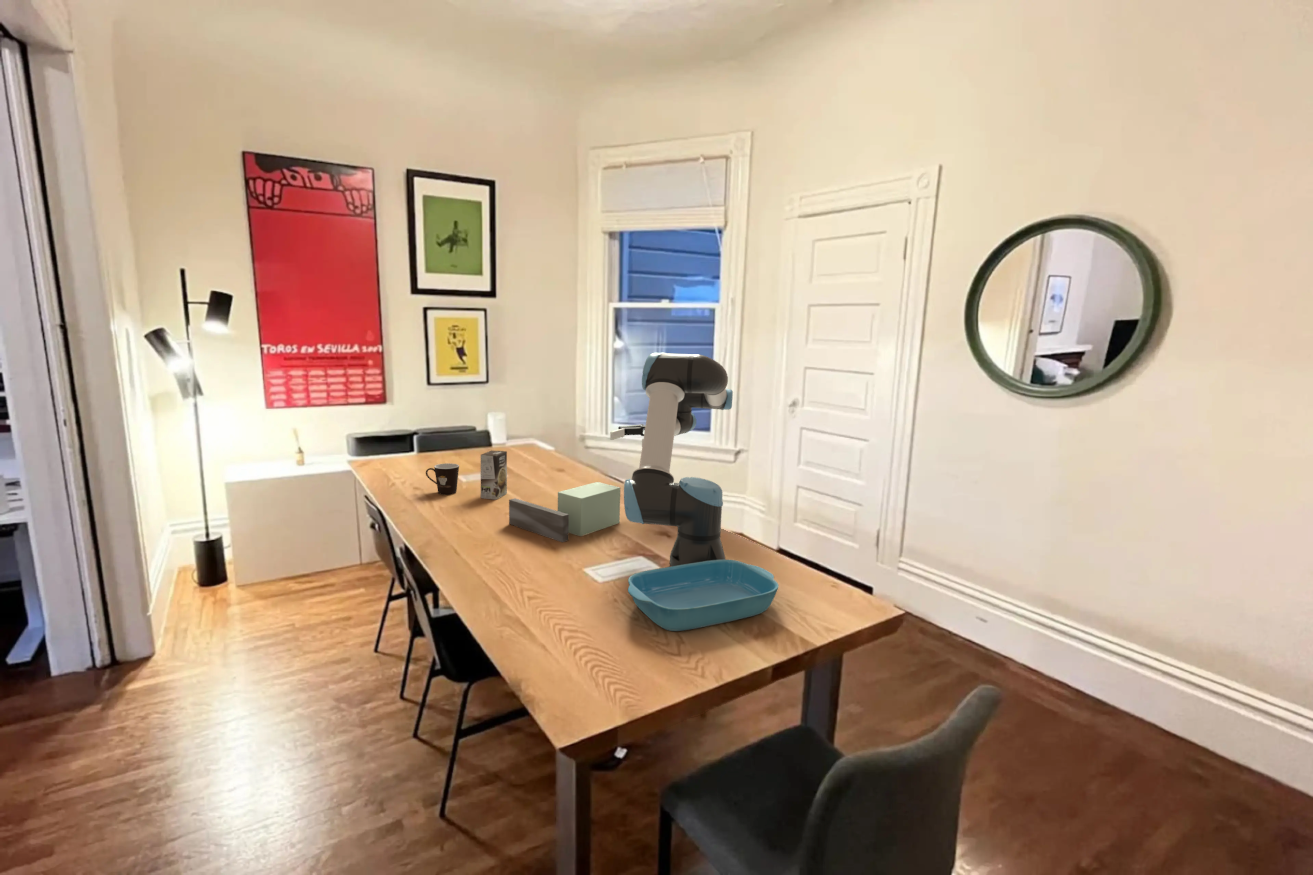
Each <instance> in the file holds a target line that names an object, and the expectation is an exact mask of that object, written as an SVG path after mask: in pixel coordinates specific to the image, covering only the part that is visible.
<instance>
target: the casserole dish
mask: <svg viewBox="0 0 1313 875" xmlns="http://www.w3.org/2000/svg"><path fill="white" fill-rule="evenodd" d="M774 578H775V576H774V574H773V573H772V572H770V571H768V570H767V569H765V568H762V567H760V566H757V565H753V564H750V563H749V564H748V563H746V562H743V561H740V560H737V559H736V560H735V559H725V560H711V561H703V562H697V563H690V564H684V565H678V566H667V567H666V566H665V567H660V568H655V569H649V570H648V569H647V570H643V571H640V572H636V573H634V574H631V575H630V576H629V577H628V579H627V583H628V589H627V593H628V594H629V595H630V596H631V598H632V600H633V602H634V604H635V605H636V607H637V608H638V609H639V610H640V611H641V612H642V613H643V614H645V616H647V618H649V619H650V620H651V621H652V622H653V623H655V624H656V625H657V626H659V627H661V628H662V629H663V630H666V631H669V632H670V631H671V632H679V631H681V632H682V631H683V632H684V631H689V630H690V631H691V630H694V629H700V628H704V627H711V626H714V625H719V624H724V623H729V622H733V621H738V620H741V619H747V618H750V617H754V616H757V615H760V614H762V613H764V612H766V611H767V610H768V609H769V607H770V606H771V604H772V603H773V601H774V598H775V597H776V594H777V592H778V590H779V587H780V586H779V583H778V582H777V580H776V579H774Z"/></svg>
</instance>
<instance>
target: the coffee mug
mask: <svg viewBox="0 0 1313 875" xmlns="http://www.w3.org/2000/svg"><path fill="white" fill-rule="evenodd" d="M429 470H432V471H433V472H434V473H435V480H434V479H432V477H430V476H429V474H428V473H429ZM459 470H460V465H459V464H457V463H447V462H446V463H439V464H438V463H437V464H435V465H434V468H433V467H429V468H427V469H426V470H425V476H426V477H427V478H428V479H429V480H430V481H431V482H433V484H435V485H436V486H437V493H438V494H439V495H442V496H443V495H444V496H451V495H455V494H457V490H458V479H459Z"/></svg>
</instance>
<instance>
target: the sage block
mask: <svg viewBox="0 0 1313 875" xmlns="http://www.w3.org/2000/svg"><path fill="white" fill-rule="evenodd" d="M621 489H622V488H621V487H619V486H616V485H613V484H612V485H611V484H607V483H604V482H600V481H596V482H591V483H587V484H584V485H580V486H576V487H573V488H568V489H566V490H565V489H564V490H561V491H558V492H557V511H559V512H562V513H566V514H569V533H568V534H572V535H575V536H577V537H583V536H586V535H589V534H592V533H594V532H597V531H601V530H603V529H607V528H609V527H612V526H614V525H618V524H620V523H621V522H620V519H621V518H620V516H621V513H620V512H621Z"/></svg>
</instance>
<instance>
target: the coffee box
mask: <svg viewBox="0 0 1313 875" xmlns="http://www.w3.org/2000/svg"><path fill="white" fill-rule="evenodd" d="M507 494H508V451H507V450H505V451H504V450H492V449H491V450H489V451H487V452H483V453H481V454H480V499H487V500H493V501H494V500H498V499H500V498H502V497H504V496H505V495H507Z"/></svg>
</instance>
